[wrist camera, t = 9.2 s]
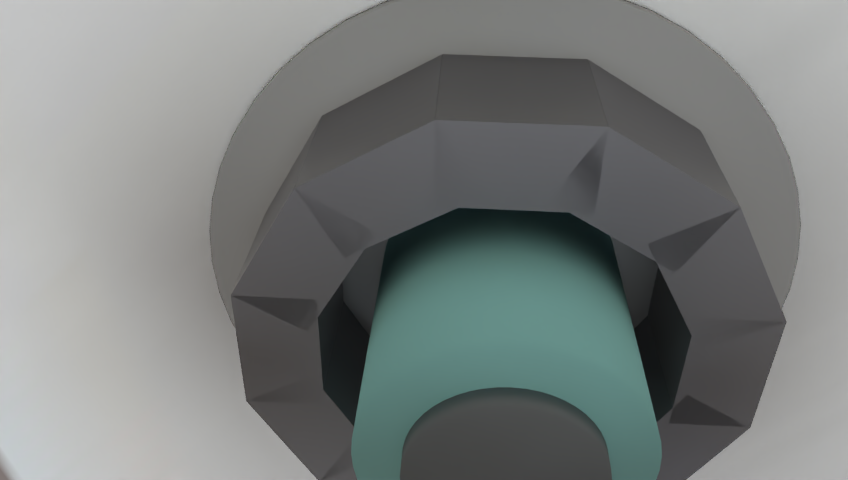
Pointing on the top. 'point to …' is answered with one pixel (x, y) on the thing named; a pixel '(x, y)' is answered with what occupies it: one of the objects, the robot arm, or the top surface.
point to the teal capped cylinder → (503, 356)
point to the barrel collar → (507, 199)
